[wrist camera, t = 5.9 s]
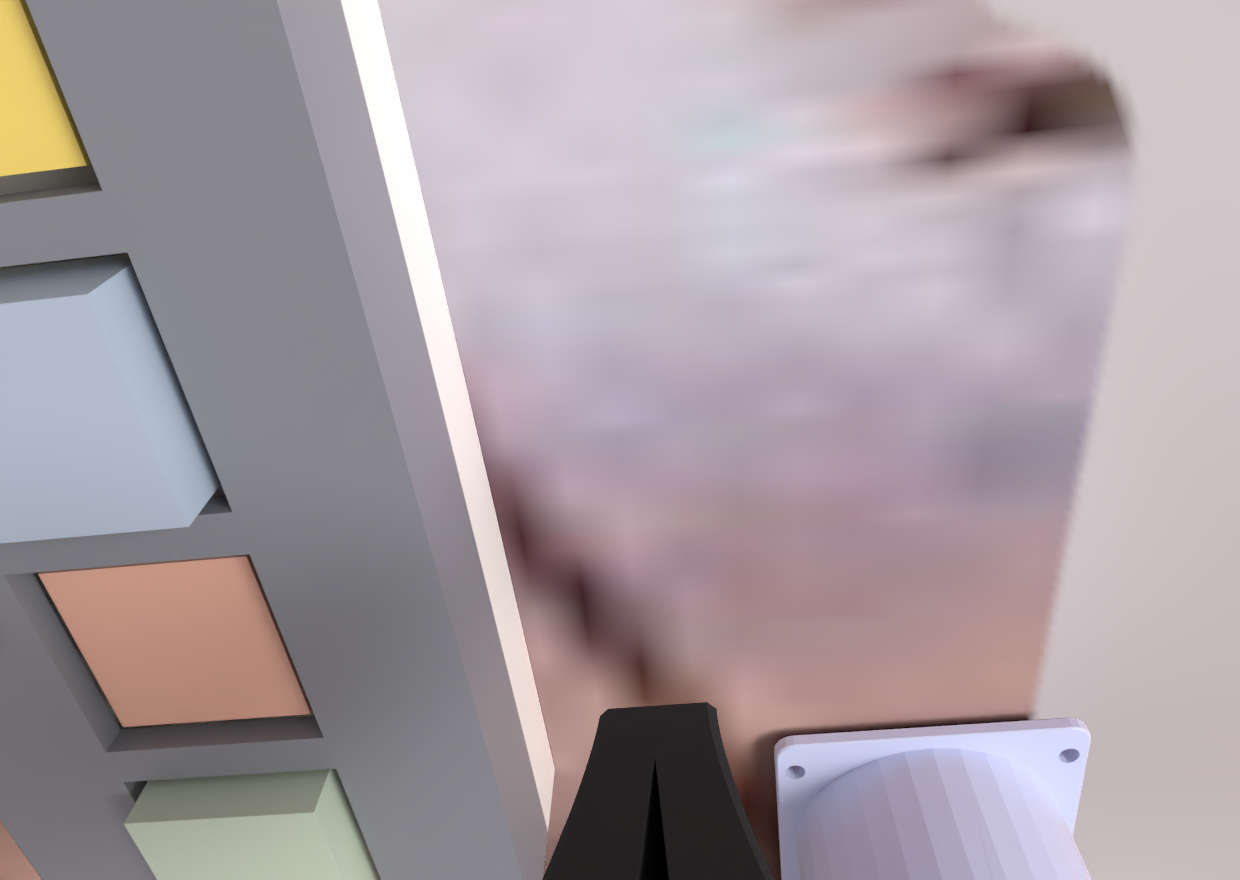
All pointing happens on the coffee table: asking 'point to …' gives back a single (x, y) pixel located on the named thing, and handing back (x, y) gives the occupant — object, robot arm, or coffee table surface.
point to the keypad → (279, 443)
